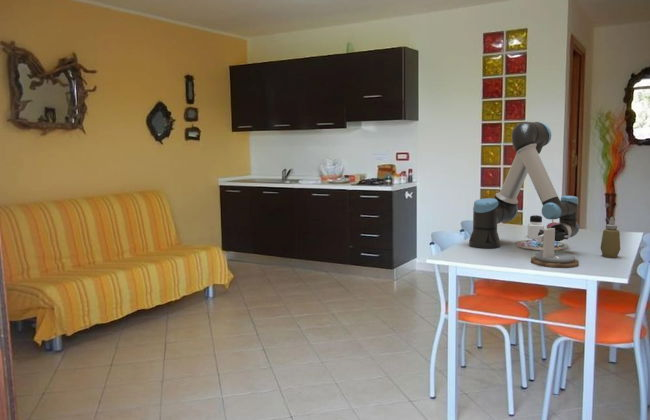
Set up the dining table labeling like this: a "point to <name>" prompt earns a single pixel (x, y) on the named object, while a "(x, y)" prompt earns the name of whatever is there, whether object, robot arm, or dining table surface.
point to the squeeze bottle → (610, 240)
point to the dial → (552, 250)
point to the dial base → (554, 265)
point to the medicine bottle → (535, 226)
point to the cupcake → (551, 224)
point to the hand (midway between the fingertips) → (539, 239)
